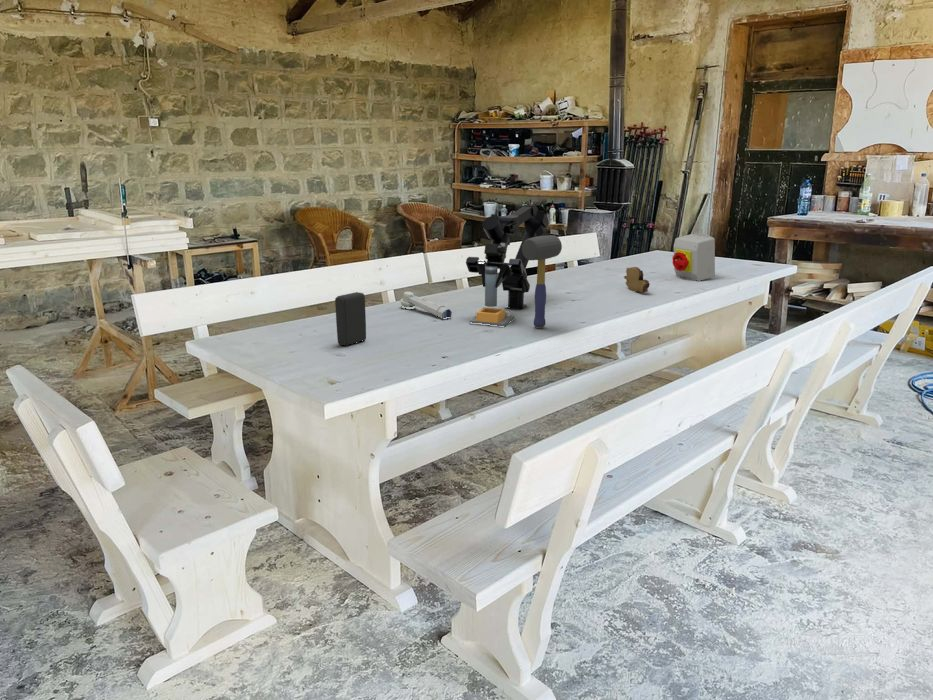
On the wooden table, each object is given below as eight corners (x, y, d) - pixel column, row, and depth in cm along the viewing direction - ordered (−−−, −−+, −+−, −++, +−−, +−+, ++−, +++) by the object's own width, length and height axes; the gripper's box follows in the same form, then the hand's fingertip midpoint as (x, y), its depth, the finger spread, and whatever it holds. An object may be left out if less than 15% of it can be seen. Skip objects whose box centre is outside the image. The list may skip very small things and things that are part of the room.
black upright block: (359, 338, 215) (356, 291, 210) (368, 340, 212) (366, 292, 208) (336, 345, 208) (333, 296, 204) (345, 347, 206) (342, 297, 201)
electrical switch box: (665, 281, 314) (664, 237, 307) (691, 274, 319) (690, 231, 312) (688, 287, 301) (687, 242, 294) (715, 279, 306) (714, 235, 299)
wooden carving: (652, 295, 276) (654, 270, 273) (643, 296, 274) (645, 271, 271) (628, 287, 291) (630, 263, 288) (619, 288, 289) (621, 264, 286)
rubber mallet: (543, 322, 234) (546, 233, 225) (560, 326, 229) (564, 235, 220) (517, 329, 226) (520, 236, 217) (535, 333, 221) (538, 238, 212)
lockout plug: (483, 304, 233) (484, 265, 229) (495, 303, 234) (496, 265, 230) (485, 307, 229) (486, 268, 225) (498, 306, 230) (498, 267, 226)
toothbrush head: (442, 310, 235) (398, 289, 252) (440, 328, 238) (397, 306, 254) (453, 307, 238) (409, 287, 255) (452, 325, 241) (408, 304, 257)
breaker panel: (482, 316, 242) (482, 304, 241) (514, 319, 238) (515, 307, 237) (469, 324, 232) (469, 311, 231) (503, 327, 228) (504, 315, 226)
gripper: (467, 232, 231) (457, 271, 224) (522, 234, 226) (514, 274, 219) (473, 252, 240) (464, 290, 234) (526, 255, 235) (519, 293, 228)
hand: (490, 286), depth 228 cm, fingers closed on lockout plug, 4 cm apart
